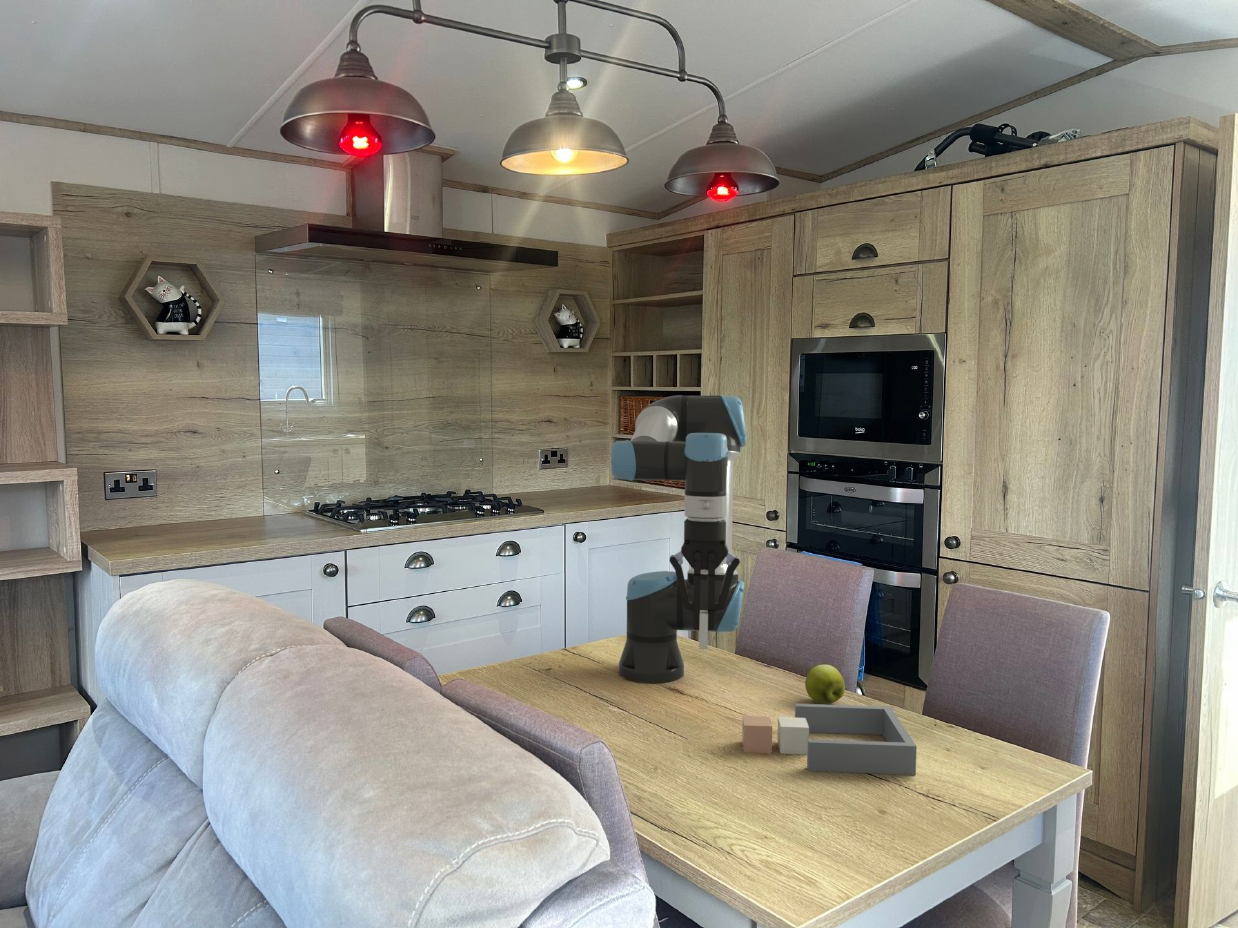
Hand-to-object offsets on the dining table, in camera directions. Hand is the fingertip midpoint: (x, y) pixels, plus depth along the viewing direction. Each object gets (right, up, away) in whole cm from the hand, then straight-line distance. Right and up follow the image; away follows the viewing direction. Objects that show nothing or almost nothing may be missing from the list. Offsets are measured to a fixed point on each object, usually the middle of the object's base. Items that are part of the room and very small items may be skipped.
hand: (703, 647), depth 165 cm
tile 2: (+16, -19, 0) cm, 25 cm away
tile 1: (+10, -19, +1) cm, 21 cm away
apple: (+28, -17, +25) cm, 41 cm away
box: (+27, -19, -1) cm, 33 cm away
